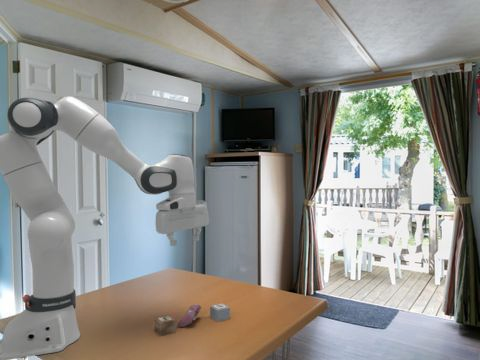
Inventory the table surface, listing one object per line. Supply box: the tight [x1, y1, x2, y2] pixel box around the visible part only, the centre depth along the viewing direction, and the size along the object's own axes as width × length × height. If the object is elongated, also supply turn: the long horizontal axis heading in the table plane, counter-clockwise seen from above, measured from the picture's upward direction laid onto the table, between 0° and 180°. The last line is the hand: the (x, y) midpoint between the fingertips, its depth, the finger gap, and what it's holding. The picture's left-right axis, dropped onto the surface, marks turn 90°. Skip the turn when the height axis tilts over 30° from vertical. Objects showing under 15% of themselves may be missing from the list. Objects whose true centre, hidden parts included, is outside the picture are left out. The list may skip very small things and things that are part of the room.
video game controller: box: [176, 303, 202, 328], centre depth 124 cm, size 10×5×7 cm, turn 169°
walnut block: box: [154, 315, 177, 337], centre depth 117 cm, size 5×5×4 cm
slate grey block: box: [209, 303, 231, 323], centre depth 128 cm, size 5×5×4 cm
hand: (185, 242), depth 125 cm, fingers open, 8 cm apart
